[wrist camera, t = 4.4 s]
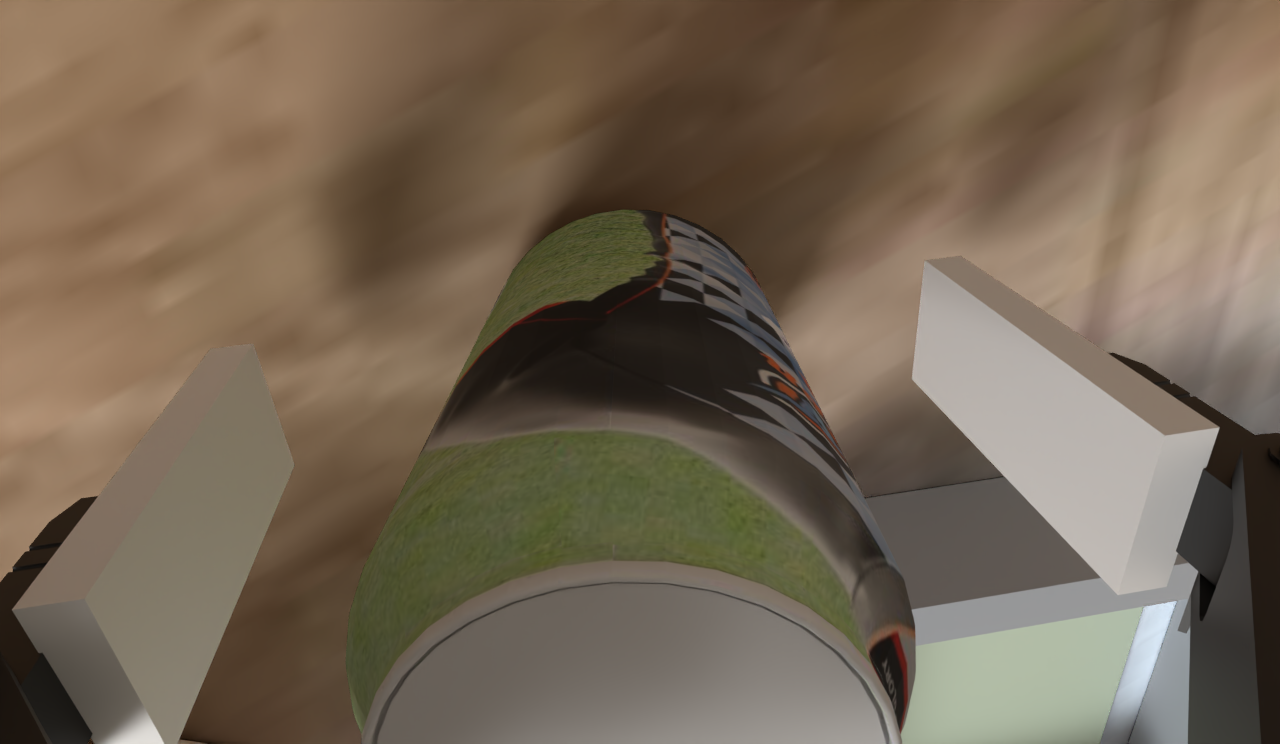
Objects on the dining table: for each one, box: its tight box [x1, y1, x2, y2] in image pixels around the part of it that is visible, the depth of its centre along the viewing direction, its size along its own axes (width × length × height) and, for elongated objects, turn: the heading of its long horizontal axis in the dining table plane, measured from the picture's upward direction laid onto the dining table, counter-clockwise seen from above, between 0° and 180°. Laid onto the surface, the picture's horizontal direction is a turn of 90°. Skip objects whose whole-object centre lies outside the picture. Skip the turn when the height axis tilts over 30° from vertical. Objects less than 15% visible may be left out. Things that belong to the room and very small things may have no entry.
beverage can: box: [346, 210, 916, 744], centre depth 12 cm, size 6×7×12 cm
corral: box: [865, 477, 1198, 744], centre depth 23 cm, size 15×15×4 cm
